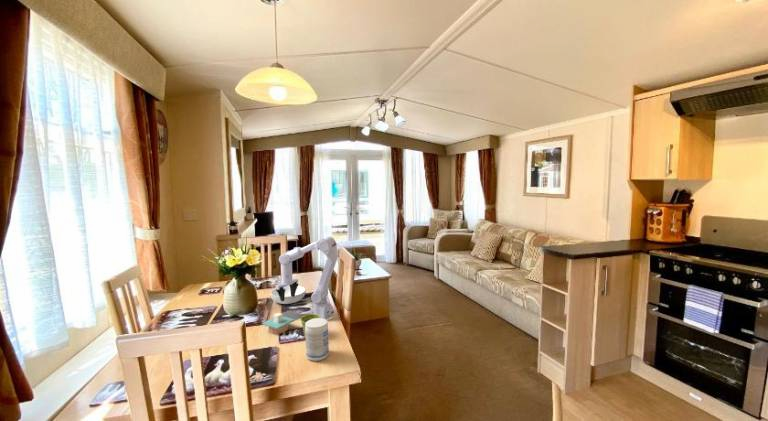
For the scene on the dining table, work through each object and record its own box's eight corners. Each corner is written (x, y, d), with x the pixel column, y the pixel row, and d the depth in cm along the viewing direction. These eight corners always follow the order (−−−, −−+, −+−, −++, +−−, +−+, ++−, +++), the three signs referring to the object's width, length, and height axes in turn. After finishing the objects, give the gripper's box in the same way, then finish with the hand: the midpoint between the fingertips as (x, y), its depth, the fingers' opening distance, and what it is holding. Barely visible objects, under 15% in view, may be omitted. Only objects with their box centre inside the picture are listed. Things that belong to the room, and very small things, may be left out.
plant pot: (324, 333, 157) (324, 315, 156) (312, 341, 149) (312, 323, 148) (309, 329, 161) (308, 312, 160) (296, 337, 152) (296, 320, 152)
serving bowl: (300, 308, 188) (300, 296, 188) (265, 308, 189) (265, 296, 188) (309, 295, 209) (309, 285, 208) (277, 295, 209) (277, 285, 209)
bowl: (291, 328, 162) (291, 320, 162) (277, 336, 154) (277, 328, 154) (279, 324, 167) (279, 317, 166) (265, 331, 159) (264, 323, 158)
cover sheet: (294, 320, 162) (294, 312, 162) (277, 329, 153) (276, 321, 152) (279, 316, 168) (278, 308, 167) (261, 324, 158) (261, 316, 158)
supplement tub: (329, 360, 133) (328, 326, 132) (306, 363, 131) (304, 328, 130) (328, 348, 143) (327, 316, 141) (306, 351, 141) (305, 318, 139)
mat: (305, 315, 177) (305, 314, 177) (287, 324, 166) (287, 324, 166) (289, 310, 184) (288, 310, 184) (270, 319, 173) (270, 318, 173)
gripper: (291, 270, 185) (292, 293, 186) (271, 276, 172) (272, 301, 173) (300, 271, 181) (301, 295, 182) (280, 278, 169) (281, 303, 170)
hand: (287, 298), depth 178 cm, fingers open, 7 cm apart
